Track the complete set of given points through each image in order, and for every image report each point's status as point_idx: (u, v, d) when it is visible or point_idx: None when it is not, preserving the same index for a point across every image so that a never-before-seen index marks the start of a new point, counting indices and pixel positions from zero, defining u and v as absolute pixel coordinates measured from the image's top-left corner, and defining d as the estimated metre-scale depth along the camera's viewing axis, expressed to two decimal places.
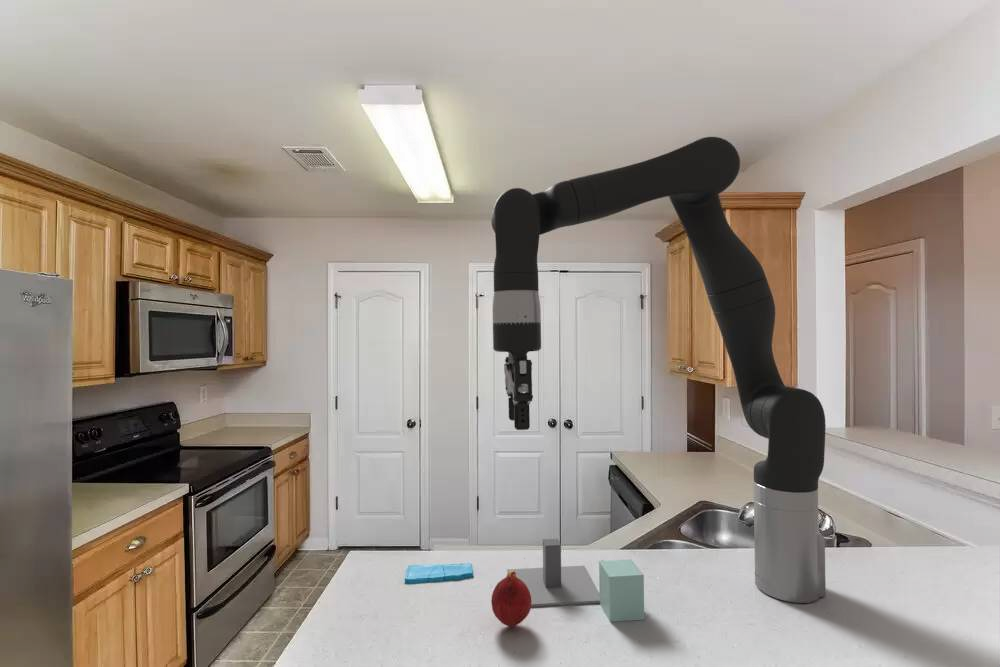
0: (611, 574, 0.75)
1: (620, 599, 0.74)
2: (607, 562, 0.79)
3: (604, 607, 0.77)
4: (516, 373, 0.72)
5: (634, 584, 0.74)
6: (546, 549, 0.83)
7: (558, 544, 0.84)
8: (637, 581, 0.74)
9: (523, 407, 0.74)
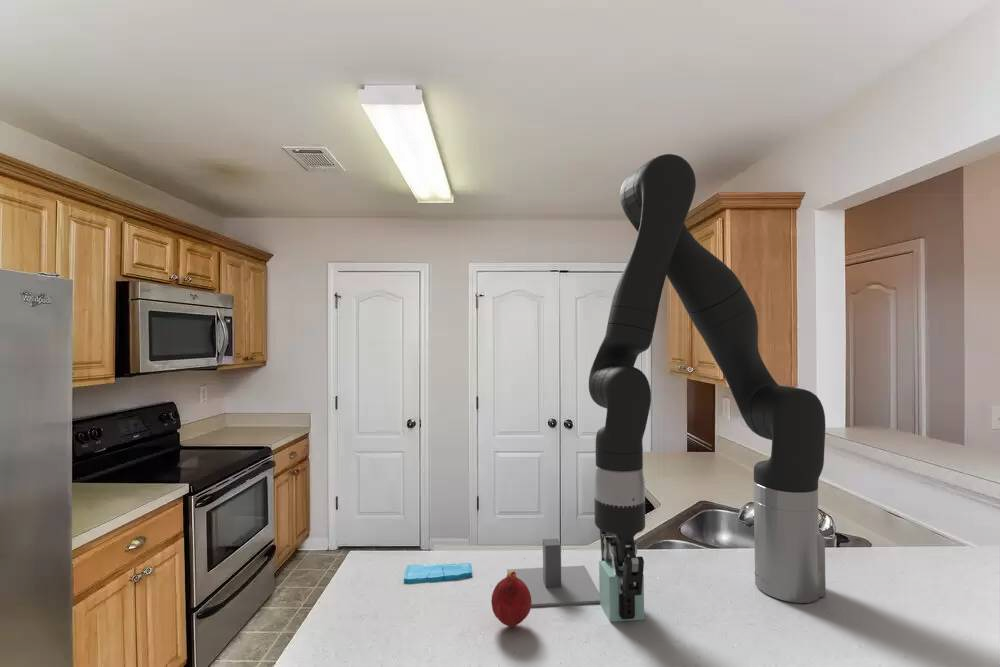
0: (611, 574, 0.75)
1: None
2: (607, 562, 0.79)
3: (604, 607, 0.77)
4: (628, 573, 0.70)
5: None
6: (546, 549, 0.83)
7: (558, 544, 0.84)
8: None
9: (629, 598, 0.73)
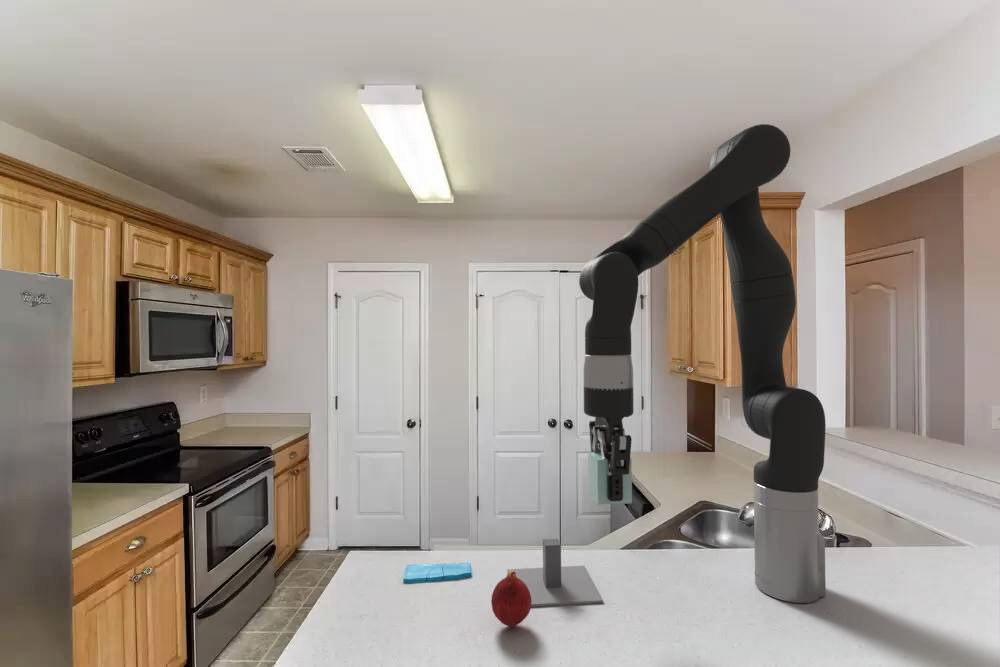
0: (599, 459, 0.76)
1: None
2: None
3: (593, 494, 0.77)
4: (615, 450, 0.71)
5: None
6: (546, 549, 0.83)
7: (558, 544, 0.84)
8: None
9: (617, 479, 0.74)
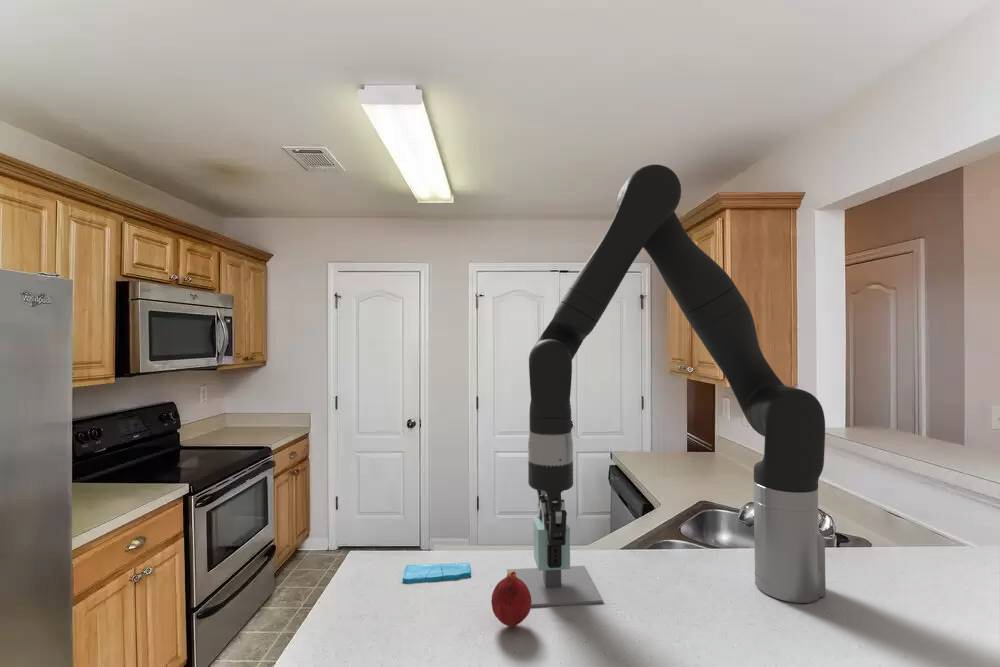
0: (540, 528, 0.82)
1: None
2: (540, 519, 0.87)
3: (536, 559, 0.84)
4: (552, 524, 0.78)
5: None
6: None
7: None
8: None
9: (556, 548, 0.81)
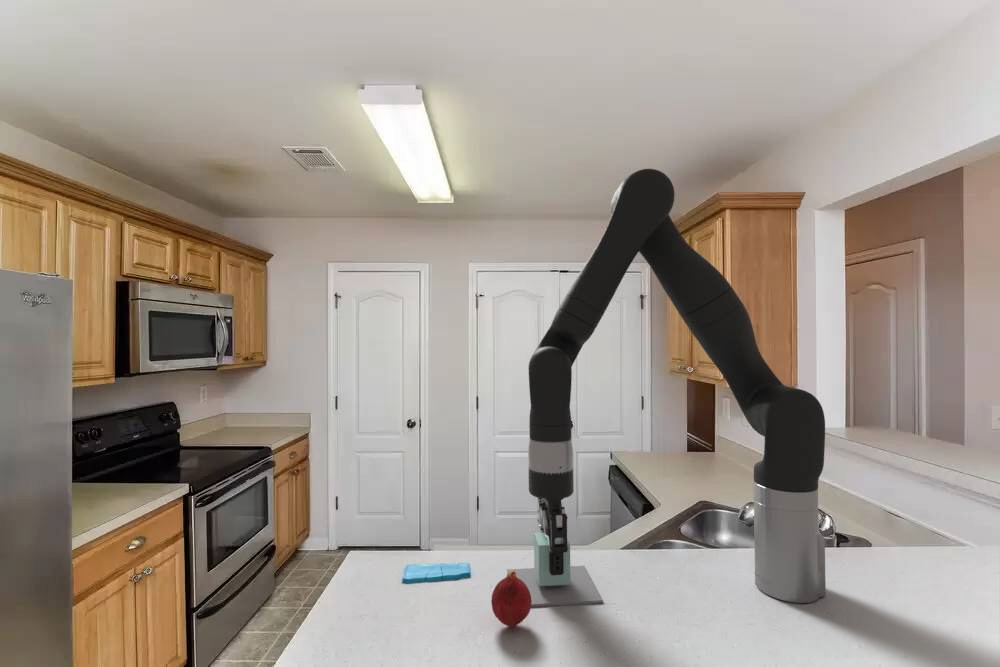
0: (541, 543, 0.83)
1: (548, 566, 0.82)
2: (541, 533, 0.87)
3: (536, 574, 0.84)
4: (553, 528, 0.78)
5: None
6: None
7: None
8: None
9: (558, 555, 0.80)
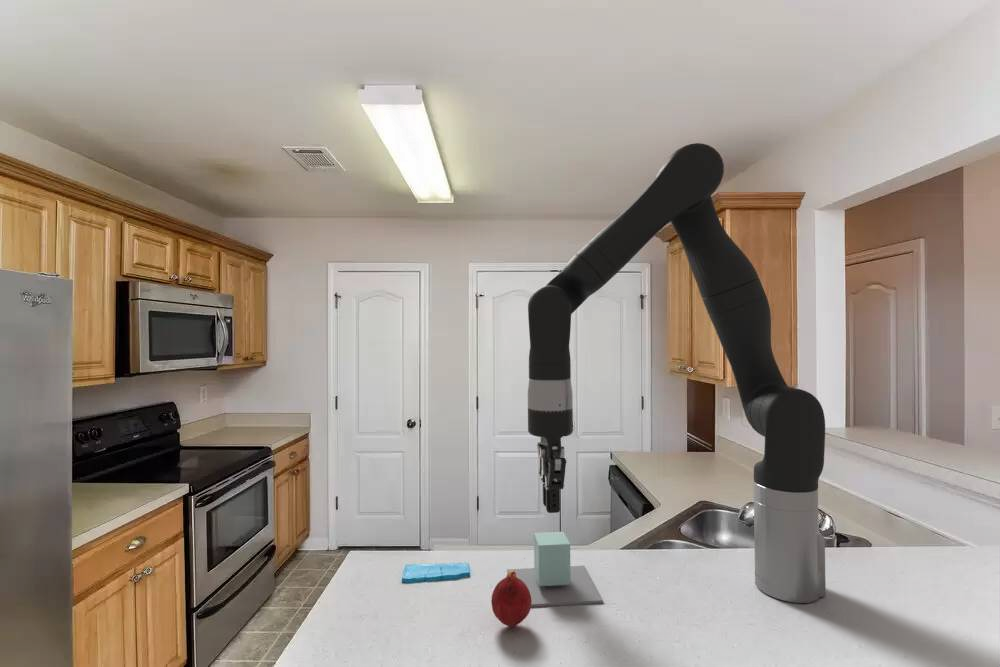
0: (541, 543, 0.83)
1: (548, 566, 0.82)
2: (541, 533, 0.87)
3: (536, 574, 0.84)
4: (551, 471, 0.79)
5: (561, 552, 0.82)
6: None
7: None
8: (564, 549, 0.82)
9: (554, 493, 0.82)
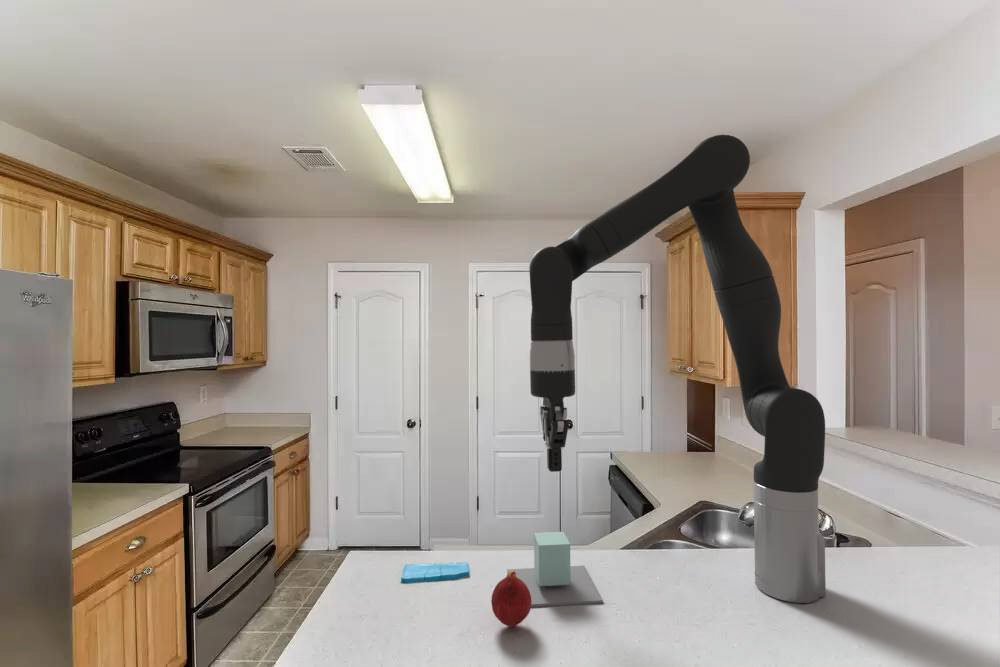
0: (541, 543, 0.83)
1: (548, 566, 0.82)
2: (541, 533, 0.87)
3: (536, 574, 0.84)
4: (553, 432, 0.80)
5: (561, 552, 0.82)
6: None
7: None
8: (564, 549, 0.82)
9: (556, 452, 0.84)
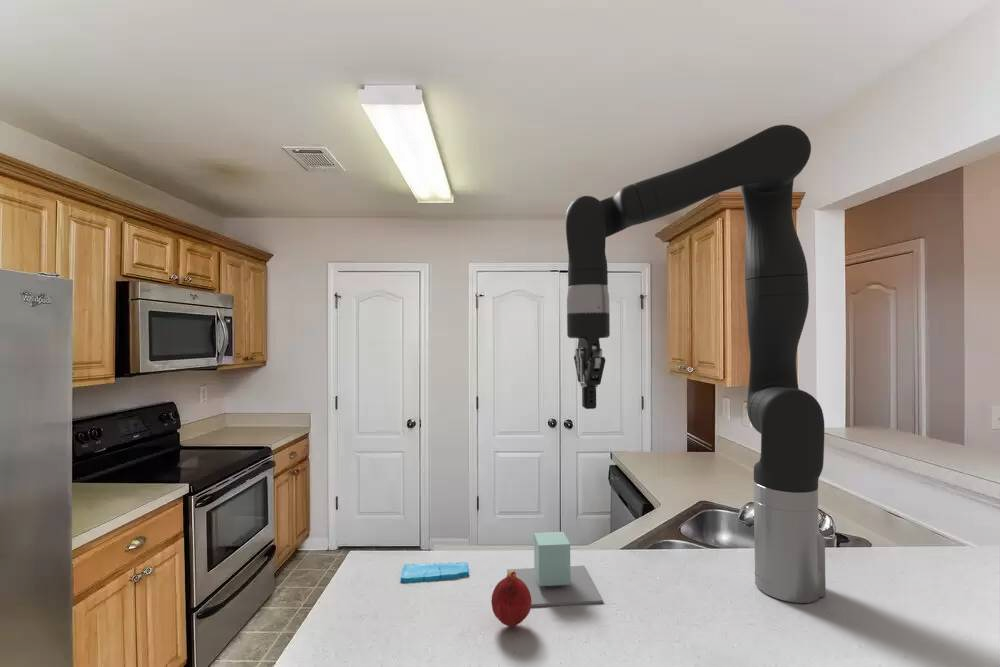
0: (541, 543, 0.83)
1: (548, 566, 0.82)
2: (541, 533, 0.87)
3: (536, 574, 0.84)
4: (591, 369, 0.85)
5: (561, 552, 0.82)
6: None
7: None
8: (564, 549, 0.82)
9: (591, 390, 0.89)
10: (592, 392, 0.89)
